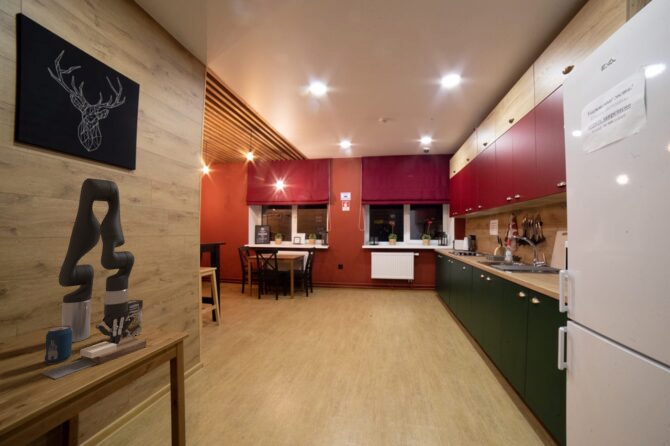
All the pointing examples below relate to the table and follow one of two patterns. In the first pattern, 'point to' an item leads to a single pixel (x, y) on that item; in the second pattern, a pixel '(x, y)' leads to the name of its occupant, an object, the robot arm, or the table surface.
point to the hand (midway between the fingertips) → (114, 344)
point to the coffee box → (135, 312)
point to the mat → (69, 368)
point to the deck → (120, 350)
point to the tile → (98, 349)
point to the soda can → (58, 344)
